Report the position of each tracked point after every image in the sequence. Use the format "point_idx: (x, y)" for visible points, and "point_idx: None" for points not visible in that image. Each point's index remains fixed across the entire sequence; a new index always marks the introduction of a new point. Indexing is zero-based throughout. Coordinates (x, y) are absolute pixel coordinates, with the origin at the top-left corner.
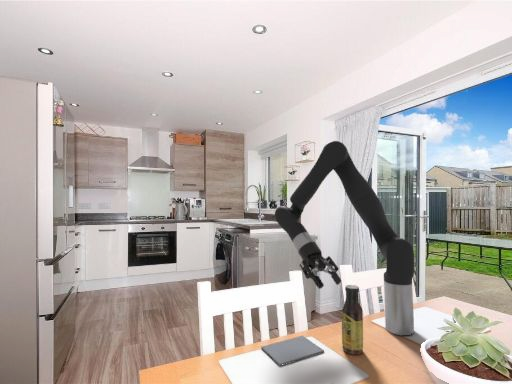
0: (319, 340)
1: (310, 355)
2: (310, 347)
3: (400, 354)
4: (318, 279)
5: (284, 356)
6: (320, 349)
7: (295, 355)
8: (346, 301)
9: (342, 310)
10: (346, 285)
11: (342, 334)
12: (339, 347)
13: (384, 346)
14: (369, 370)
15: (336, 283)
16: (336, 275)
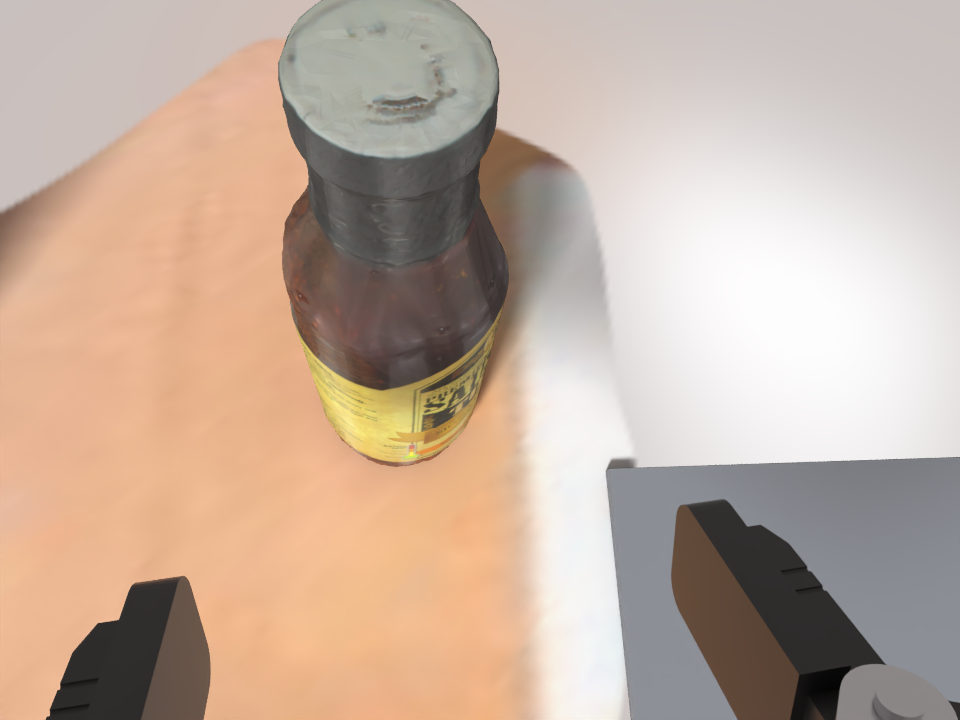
0: (528, 643)
1: (728, 465)
2: None
3: (148, 224)
4: (794, 604)
5: (913, 524)
6: (626, 489)
7: (835, 501)
8: (475, 220)
9: (492, 314)
10: (429, 145)
11: (477, 392)
12: (455, 477)
13: (140, 339)
14: None
15: (205, 678)
16: (132, 704)
